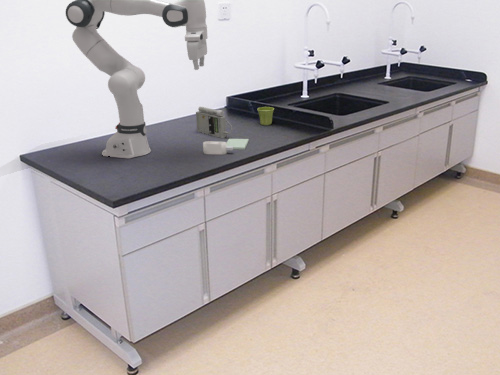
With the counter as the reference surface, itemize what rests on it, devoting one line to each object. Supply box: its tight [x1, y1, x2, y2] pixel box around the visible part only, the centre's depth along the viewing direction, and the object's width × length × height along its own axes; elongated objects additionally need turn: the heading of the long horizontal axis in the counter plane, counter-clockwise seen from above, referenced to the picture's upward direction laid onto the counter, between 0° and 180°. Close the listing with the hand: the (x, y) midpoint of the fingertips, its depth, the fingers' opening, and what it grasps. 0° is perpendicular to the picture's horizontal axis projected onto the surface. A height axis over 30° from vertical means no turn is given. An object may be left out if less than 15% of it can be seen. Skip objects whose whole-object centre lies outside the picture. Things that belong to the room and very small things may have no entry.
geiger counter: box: [195, 106, 233, 139], centre depth 257 cm, size 14×6×25 cm
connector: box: [202, 140, 234, 156], centre depth 230 cm, size 14×4×5 cm, turn 82°
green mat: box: [226, 138, 250, 151], centre depth 242 cm, size 10×14×1 cm
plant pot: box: [256, 106, 275, 126], centre depth 275 cm, size 9×9×9 cm
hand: (199, 67), depth 216 cm, fingers open, 8 cm apart
